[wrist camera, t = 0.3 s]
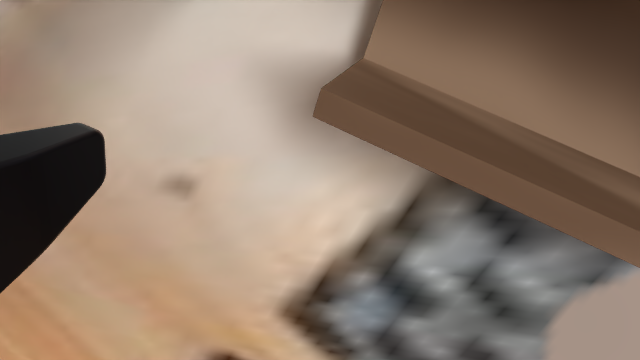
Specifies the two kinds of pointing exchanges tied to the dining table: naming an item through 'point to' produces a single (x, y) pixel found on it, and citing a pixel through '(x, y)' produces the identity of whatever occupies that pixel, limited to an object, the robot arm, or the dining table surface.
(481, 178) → the rack
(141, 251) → the dining table surface
